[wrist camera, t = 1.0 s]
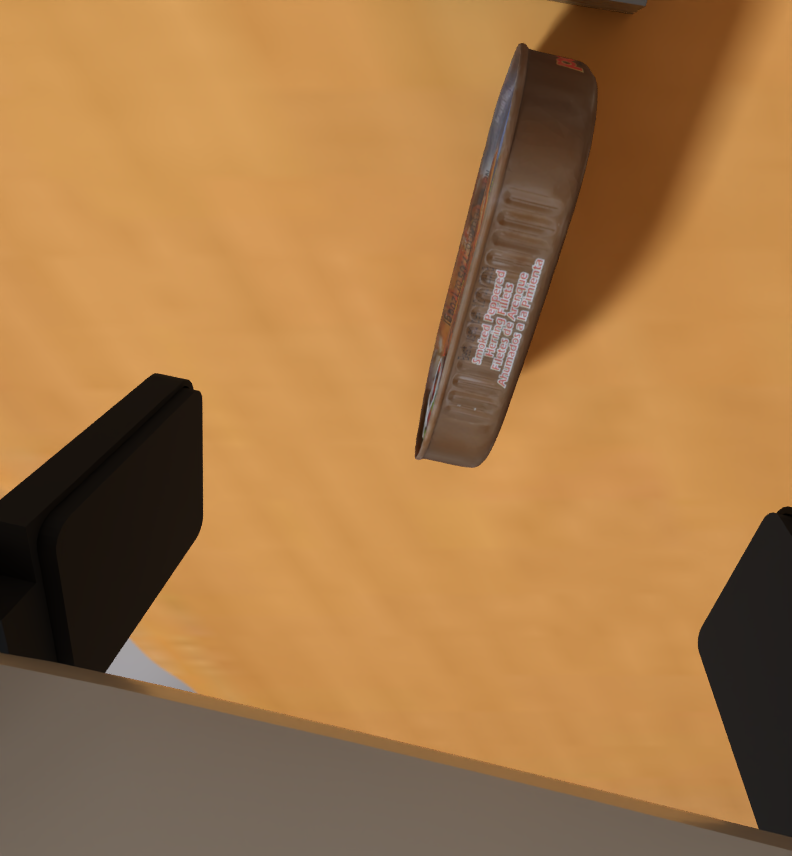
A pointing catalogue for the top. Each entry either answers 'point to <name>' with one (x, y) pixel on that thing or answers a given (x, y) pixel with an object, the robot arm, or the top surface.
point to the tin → (507, 253)
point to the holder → (610, 4)
